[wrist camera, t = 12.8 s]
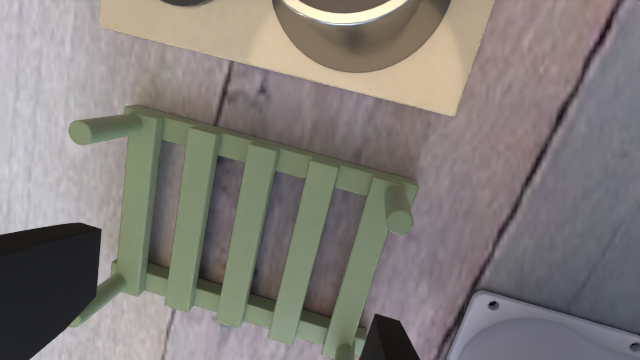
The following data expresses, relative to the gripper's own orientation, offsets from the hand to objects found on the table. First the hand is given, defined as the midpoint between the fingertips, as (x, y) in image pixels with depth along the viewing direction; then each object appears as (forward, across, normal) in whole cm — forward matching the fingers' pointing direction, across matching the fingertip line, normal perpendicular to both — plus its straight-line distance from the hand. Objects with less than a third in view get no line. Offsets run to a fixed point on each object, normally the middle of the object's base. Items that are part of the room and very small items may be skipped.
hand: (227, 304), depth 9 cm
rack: (+10, +2, +3) cm, 11 cm away
